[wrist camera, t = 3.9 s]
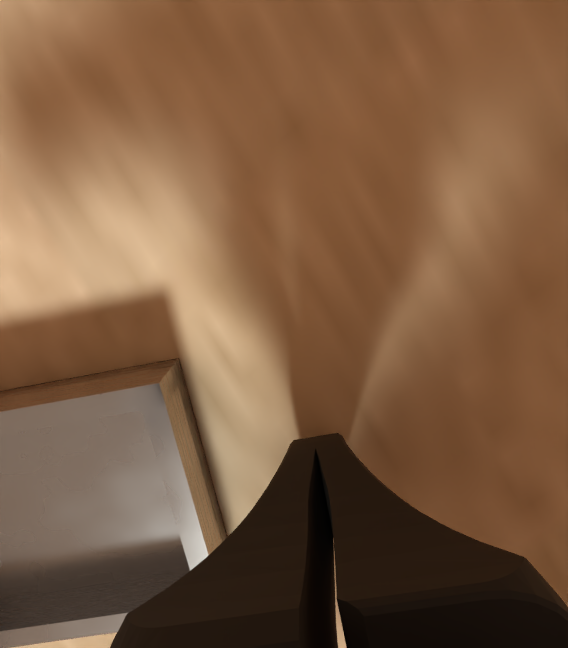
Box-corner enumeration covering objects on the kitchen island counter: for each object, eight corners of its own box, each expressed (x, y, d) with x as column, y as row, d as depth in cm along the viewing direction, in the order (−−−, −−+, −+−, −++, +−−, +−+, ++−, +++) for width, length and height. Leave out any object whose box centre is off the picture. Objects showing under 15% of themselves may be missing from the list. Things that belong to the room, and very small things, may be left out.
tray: (178, 358, 12) (159, 383, 10) (234, 565, 14) (226, 616, 12) (-152, 419, 13) (-222, 452, 11) (-60, 609, 14) (-108, 663, 13)
